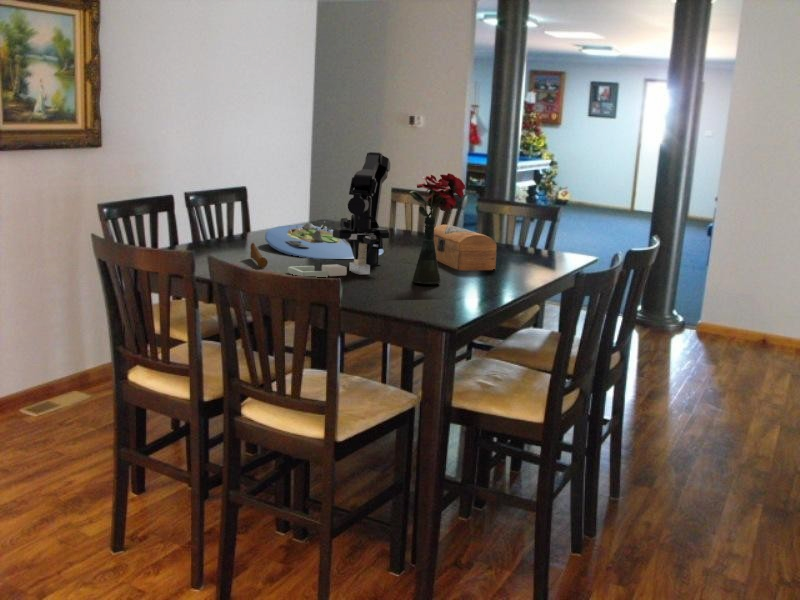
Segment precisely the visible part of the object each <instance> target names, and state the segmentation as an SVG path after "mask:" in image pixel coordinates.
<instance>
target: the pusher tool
mask: <svg viewBox="0 0 800 600" xmlns="http://www.w3.org/2000/svg"><path fill="white" fill-rule="evenodd" d="M366 254H367V243H363V242H359V249H358V257H357V260H356V259H353V261H352V262H351V261H349V269H348V270H349V272H350V271H351V273H353V274H357V275H371V266H370V265H368V264H366Z"/></svg>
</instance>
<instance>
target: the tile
mask: <svg viewBox="0 0 800 600" xmlns="http://www.w3.org/2000/svg"><path fill="white" fill-rule="evenodd" d="M347 269H348V267H347V266H344V265H341V264H337V263H335V264H321V271H328V276H329V277H337V276H338V277H339V276H347V274H348V273H347V272H348V270H347Z"/></svg>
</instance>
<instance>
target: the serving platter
mask: <svg viewBox="0 0 800 600" xmlns="http://www.w3.org/2000/svg"><path fill="white" fill-rule="evenodd" d="M323 223H326V221H325V220H323ZM333 231H334V229H331V226H330V227H329V228H328V226H324V224H321V225H320V226H318V225H313V224H312V222H309V223H305V224H304V225H299V224H297V225H296V224H294V225H293V224H292V225H281V226H280V225H279V226H275V227H273V228H272V227H271V228H270V229H268V230H267V231H266V232H265V234H264V238H265V239H264V240H265V241H266V243H267V244H268V246H270V247H271V248H273V249H274V250H276V251H278V252H280V253H283V254H285V255H288V256H291V255H293V256H292V257H295V256H299V257H306V258H305V259H309V258H313V259H312V260H320V259H352V260H354V256H353V252H352V249H351V246H350V244H349V242H348V241H347V240H345V239H339V238H335V237H333ZM384 252H385V251H384V248H383V249H379V256H382V255H383V254H384ZM299 257H298V258H299Z"/></svg>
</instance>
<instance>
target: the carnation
mask: <svg viewBox="0 0 800 600" xmlns="http://www.w3.org/2000/svg"><path fill="white" fill-rule="evenodd" d="M439 176H440V179H438V180H437V178H436V176H435V175H434V174H430V176H429V175H425V176H422V178H421V179H422V180H425V182H426V183H425V182H424V181H422V182H421V183H417V184H416V188H417V189H421V188H423V189H426V192H428V195H429V197H428V199H425V197H424V196H423V195H422V194H421V193H419V192H418V191H416V190H411V191H409V193H408V194H409V195H410V196H411V197H412V199H413V200H415V201H417V202H418V203H421V204H423V205H424V207H423V206H419V208H418V213H419V214H420V215H422V216H423V217H424V222H423V223H424V235H423V241H422V246H421V248H420V253H419V255H418V256H419V257H418V259H417V263H416V266H415V267H416V268H415V270H414V273H413V278H412V282H413V284H416V283H417V284H418V283H419V284H420V285H435V286H436V285H437V284H440V283H441V277H440V272H439V264H438V261H437V259H436V251H435V244H434V228H435V224H436V223H435V221H436V220H435V219H436V218H435V217H434V215H435V213H436V211H437V209H438V207H439V210H440V211H443V212H446V211H447V212H448V211H452V209H454V207H455V206H456V204H457V198H456V197H455V195H454V194H456V196H458V198H459V199H462V198H463V197H464V190H465V189H466V184H465V183H464V181H463V180H462V179H461V178H460V177H457V176H455V175H454V174H452V173H446V174H439ZM426 205H427V206H429V210H430V211H429V213H428V210H427V207H426ZM434 208H435V209H434ZM430 216H431V217H430Z"/></svg>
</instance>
